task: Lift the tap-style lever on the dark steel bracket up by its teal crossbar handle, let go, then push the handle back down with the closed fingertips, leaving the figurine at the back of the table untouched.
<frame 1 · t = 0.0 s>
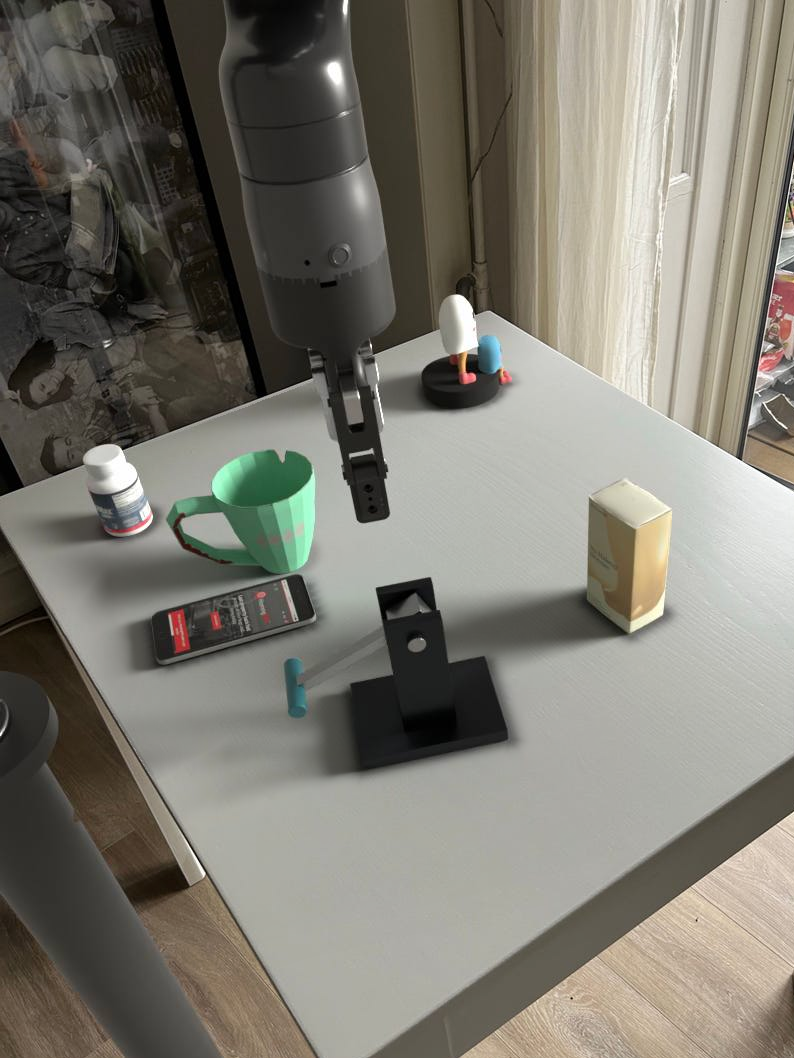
hand: (365, 482, 67), 24 cm above the table, tool pointing down, fingers open, 8 cm apart
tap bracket: (427, 715, 83), on the table
lever: (355, 651, 77), point 9 cm above the table, hinge at -25.0°
smartphone: (234, 622, 94), on the table
figurine: (467, 389, 123), on the table
cosmetic box: (625, 610, 91), on the table
pill bottle: (130, 524, 108), on the table
mug: (262, 567, 100), on the table
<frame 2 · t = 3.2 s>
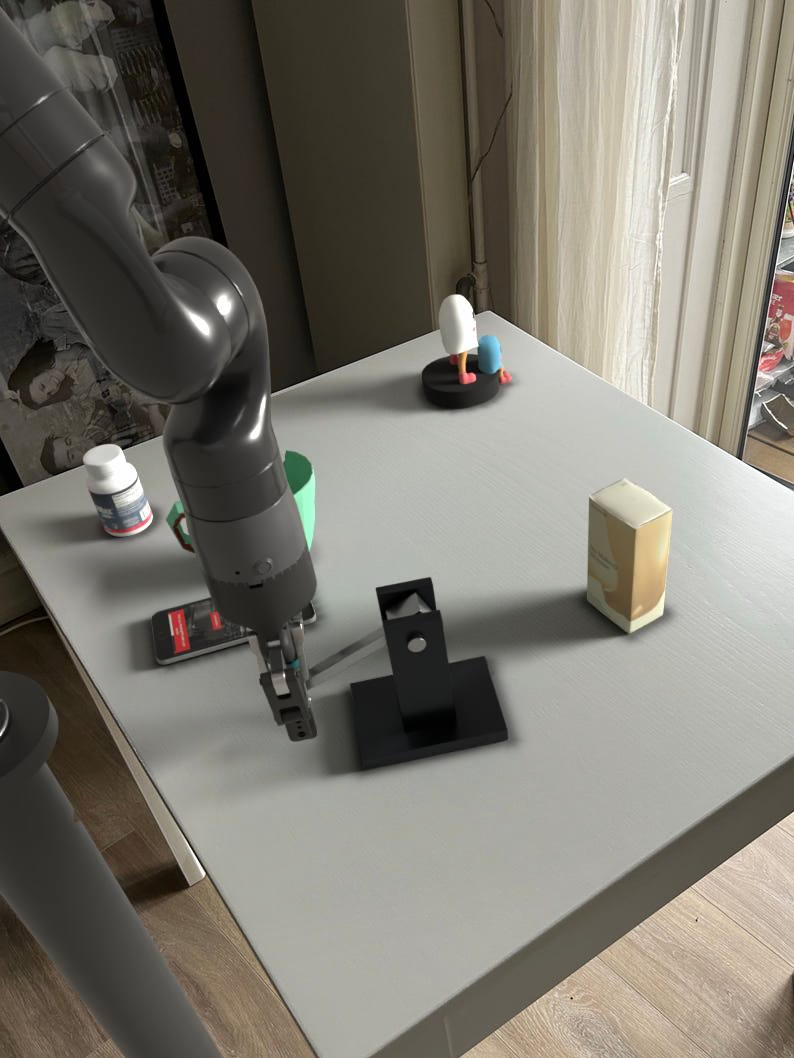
hand: (301, 708, 80), 4 cm above the table, tool pointing down, fingers closed on lever, 5 cm apart
lever: (355, 651, 77), point 9 cm above the table, hinge at -25.1°, touching gripper
everything else where it was.
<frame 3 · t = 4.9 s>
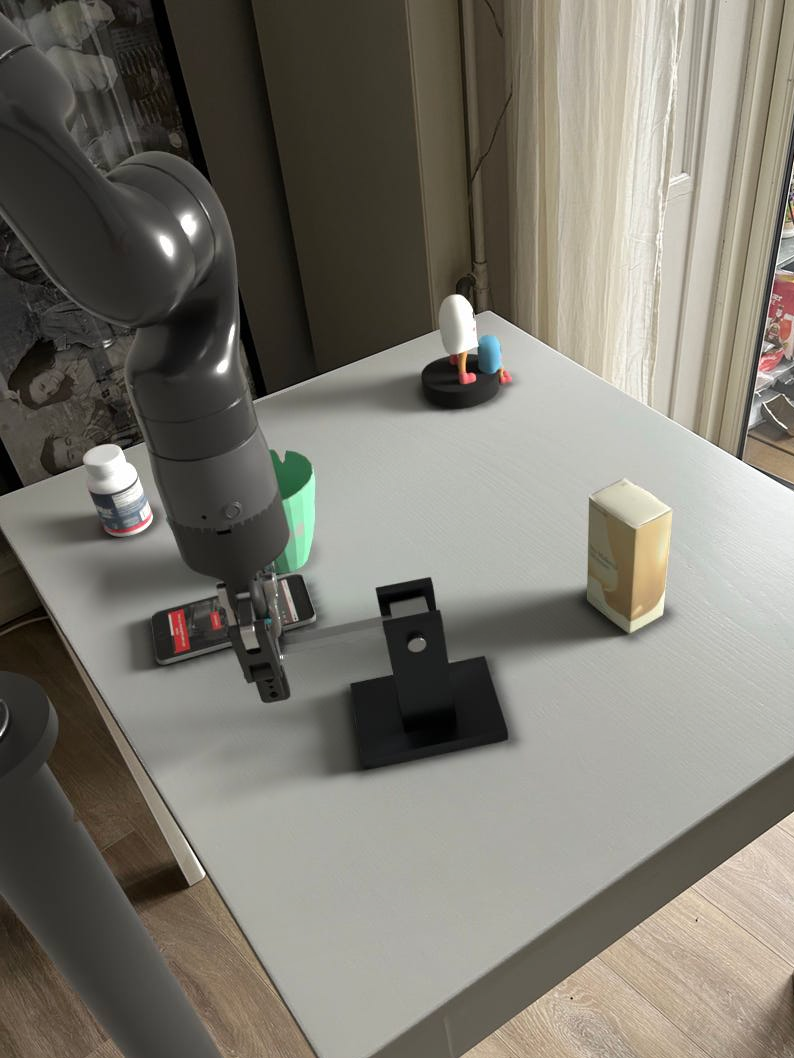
hand: (274, 669, 76), 9 cm above the table, tool pointing down, fingers closed on lever, 5 cm apart
lever: (344, 633, 75), point 11 cm above the table, hinge at -0.3°, touching gripper
everything else where it was.
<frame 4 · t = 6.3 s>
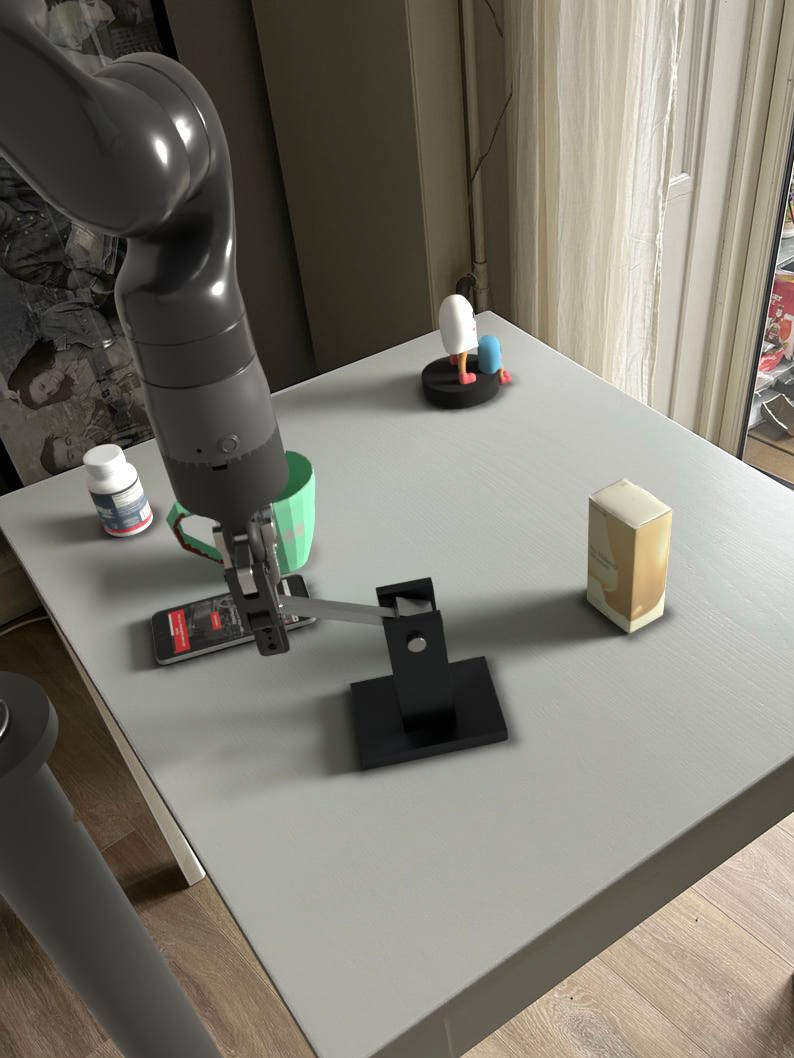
hand: (273, 623, 73), 13 cm above the table, tool pointing down, fingers closed on lever, 5 cm apart
lever: (345, 611, 74), point 13 cm above the table, hinge at 23.3°, touching gripper
everything else where it was.
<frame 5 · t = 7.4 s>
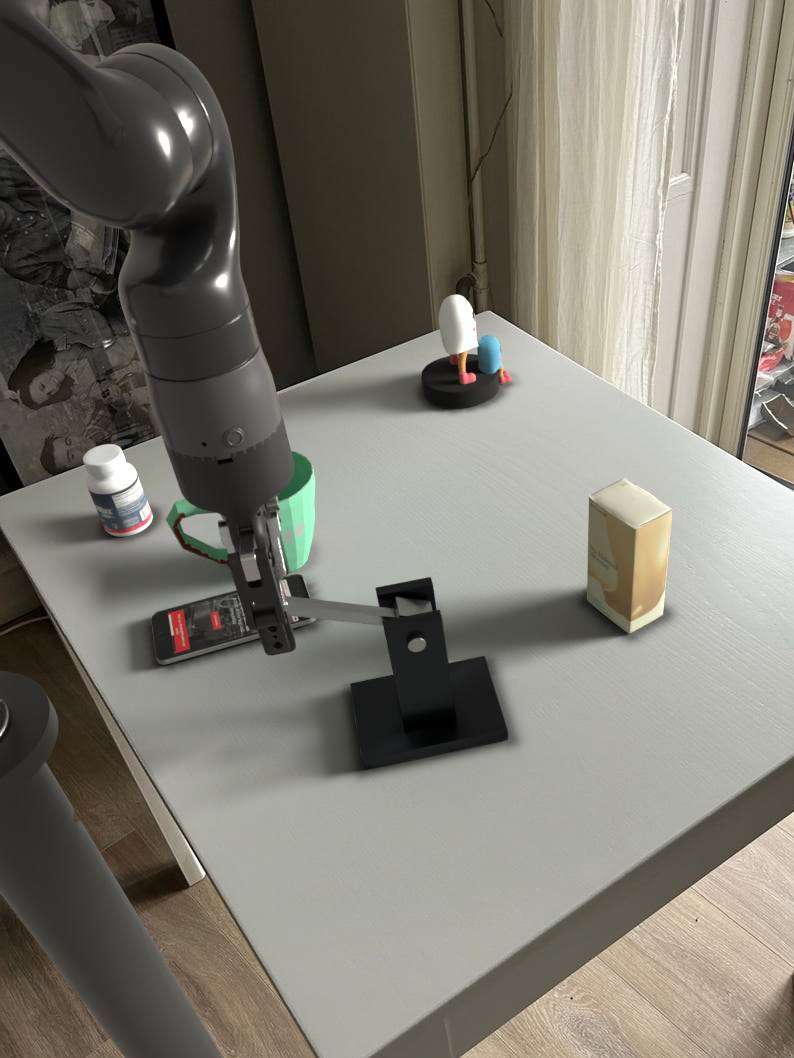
hand: (278, 611, 73), 14 cm above the table, tool pointing down, fingers open, 8 cm apart
lever: (345, 612, 74), point 13 cm above the table, hinge at 23.0°
everything else where it was.
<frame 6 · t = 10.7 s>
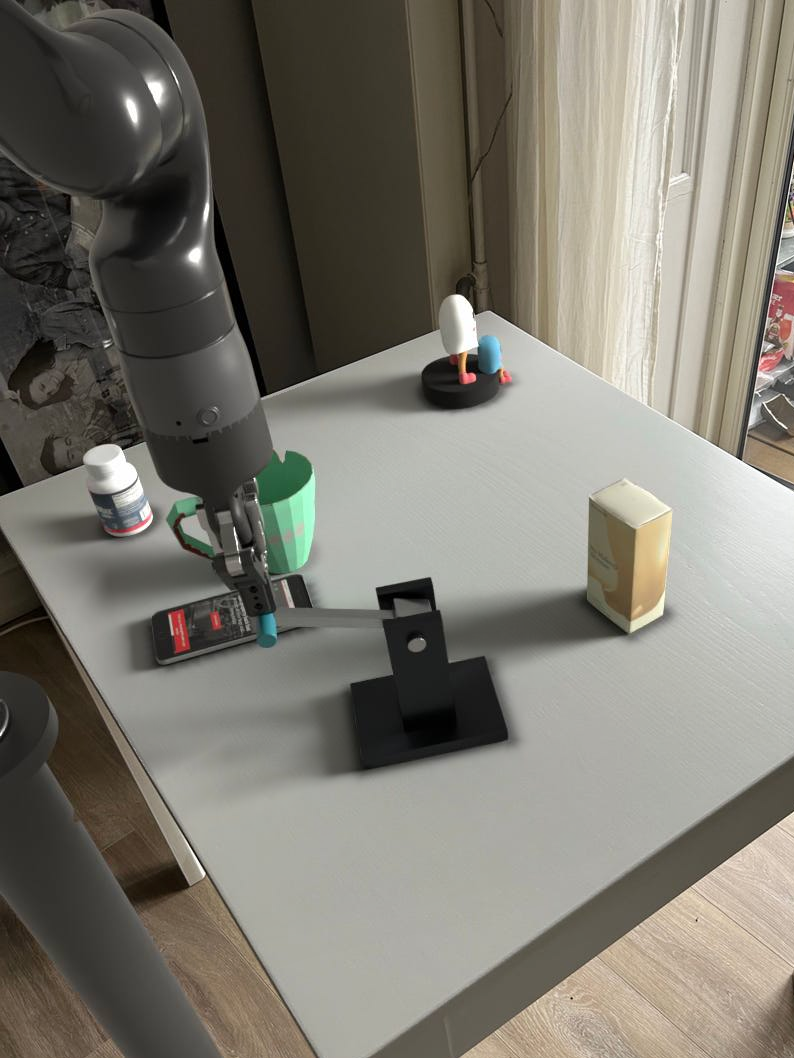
hand: (262, 609, 72), 15 cm above the table, tool pointing down, fingers closed
lever: (344, 618, 74), point 12 cm above the table, hinge at 16.3°, touching gripper
everything else where it was.
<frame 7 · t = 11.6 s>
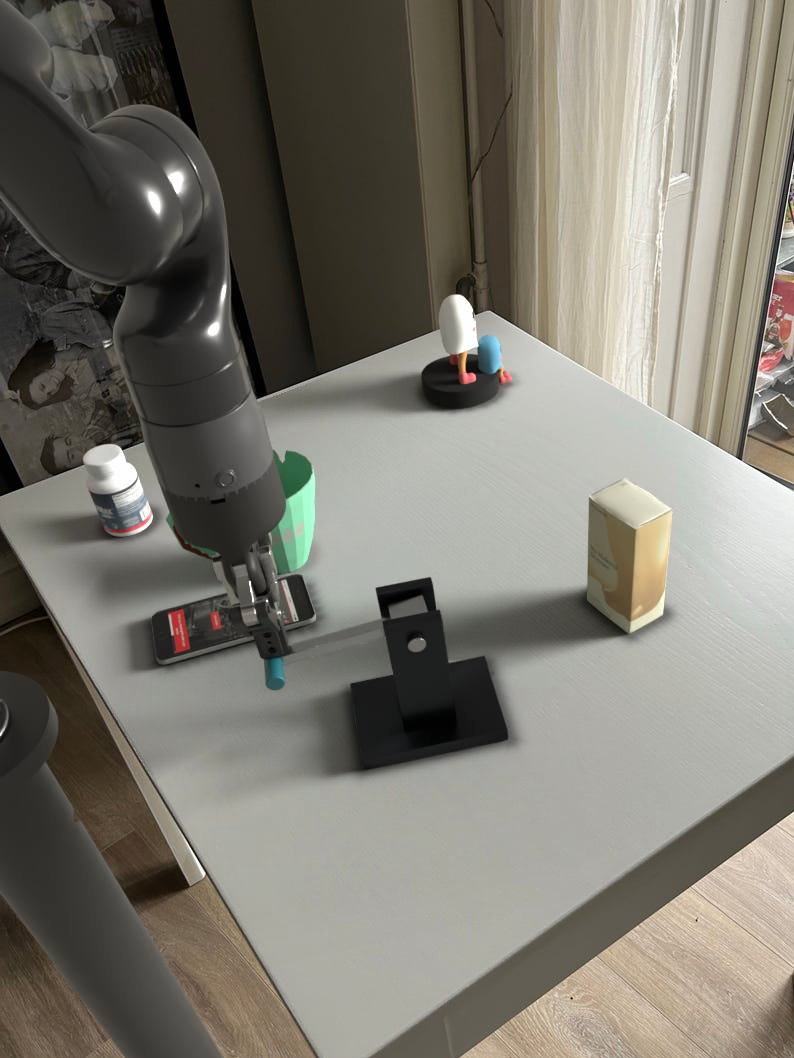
hand: (275, 651, 75), 11 cm above the table, tool pointing down, fingers closed
lever: (346, 638, 76), point 10 cm above the table, hinge at -6.5°, touching gripper
everything else where it was.
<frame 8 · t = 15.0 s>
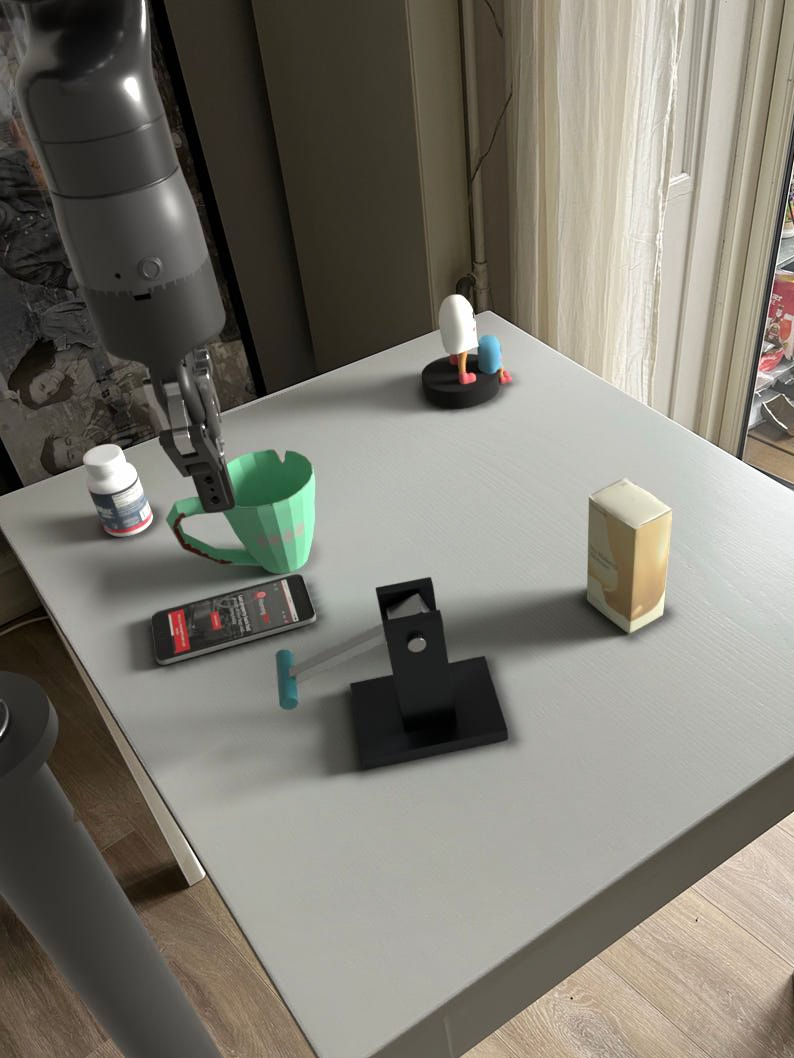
hand: (220, 505, 68), 23 cm above the table, tool pointing down, fingers closed
lever: (352, 647, 77), point 9 cm above the table, hinge at -18.9°
everything else where it was.
at the end: lever reached +24° during the clip, -19° at the end; lever at -19° (first picture: -25°); figurine moved 0.2 cm from its start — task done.
